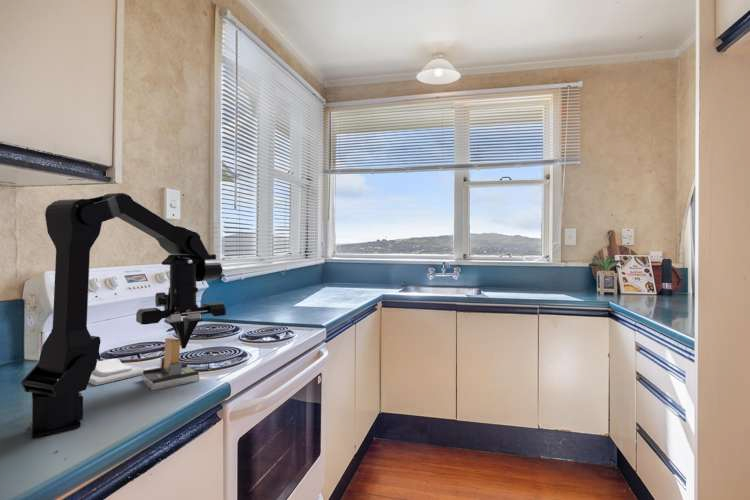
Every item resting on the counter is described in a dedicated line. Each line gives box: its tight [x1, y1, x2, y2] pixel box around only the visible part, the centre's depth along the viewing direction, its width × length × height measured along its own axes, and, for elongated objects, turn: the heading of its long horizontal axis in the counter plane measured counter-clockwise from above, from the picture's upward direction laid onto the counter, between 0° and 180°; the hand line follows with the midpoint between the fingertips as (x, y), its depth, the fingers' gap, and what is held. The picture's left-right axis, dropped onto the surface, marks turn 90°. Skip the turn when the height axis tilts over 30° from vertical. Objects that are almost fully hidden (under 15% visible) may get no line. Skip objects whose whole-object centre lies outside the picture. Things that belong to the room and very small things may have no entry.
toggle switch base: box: [141, 356, 200, 391], centre depth 93 cm, size 10×9×5 cm
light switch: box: [88, 358, 146, 386], centre depth 97 cm, size 11×4×13 cm
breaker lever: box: [163, 337, 181, 372], centre depth 93 cm, size 2×5×8 cm, turn 43°
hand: (183, 348), depth 95 cm, fingers closed
